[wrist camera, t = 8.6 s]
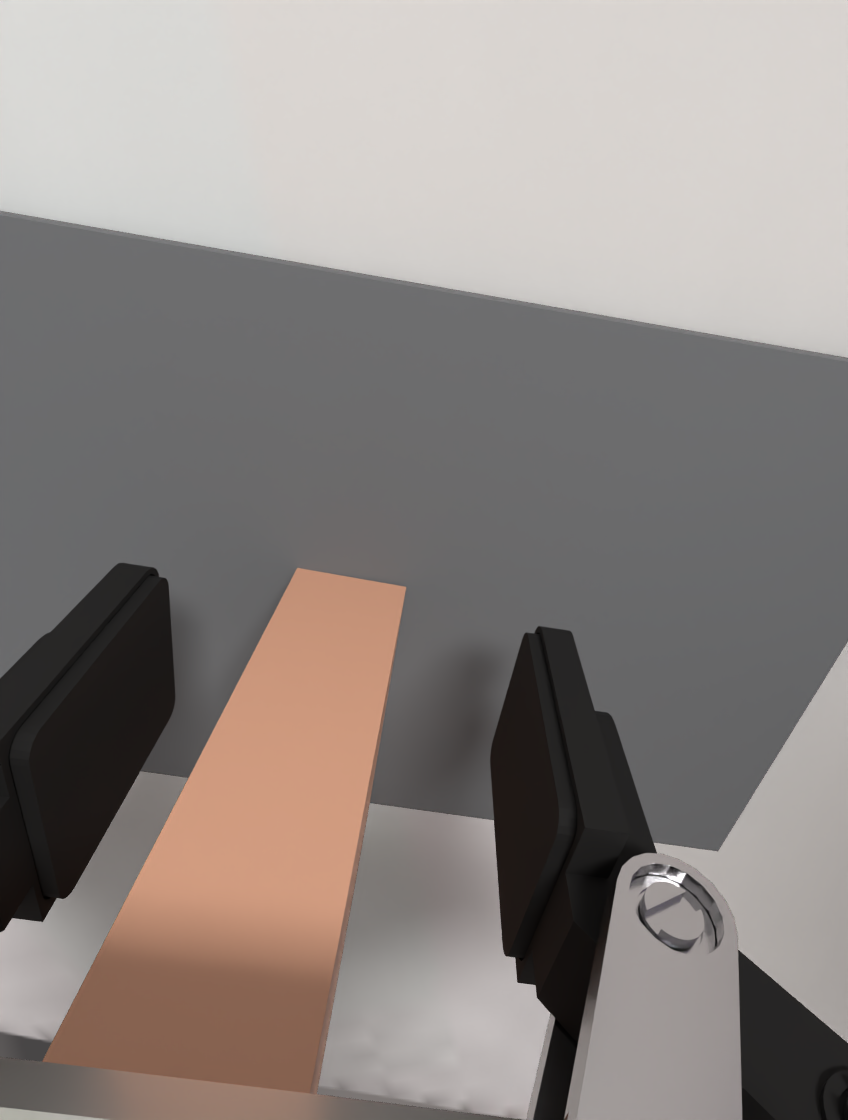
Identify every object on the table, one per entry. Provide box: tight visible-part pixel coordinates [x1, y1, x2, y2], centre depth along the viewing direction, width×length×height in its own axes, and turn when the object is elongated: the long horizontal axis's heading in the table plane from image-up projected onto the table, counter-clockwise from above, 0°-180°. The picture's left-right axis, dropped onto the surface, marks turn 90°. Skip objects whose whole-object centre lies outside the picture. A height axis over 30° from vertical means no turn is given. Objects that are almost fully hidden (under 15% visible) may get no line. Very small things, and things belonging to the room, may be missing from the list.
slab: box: [42, 568, 406, 1094], centre depth 10 cm, size 2×9×7 cm
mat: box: [0, 211, 848, 851], centre depth 13 cm, size 20×12×1 cm, turn 81°
